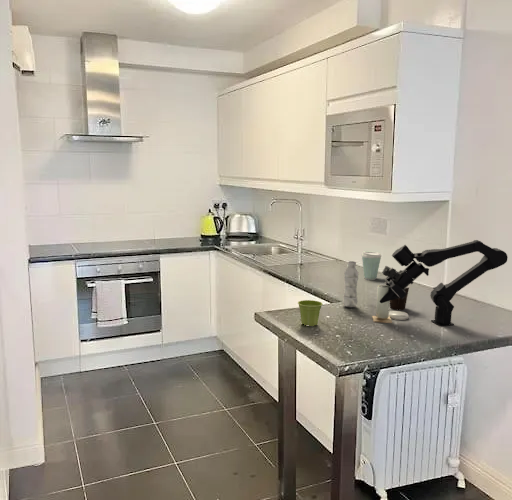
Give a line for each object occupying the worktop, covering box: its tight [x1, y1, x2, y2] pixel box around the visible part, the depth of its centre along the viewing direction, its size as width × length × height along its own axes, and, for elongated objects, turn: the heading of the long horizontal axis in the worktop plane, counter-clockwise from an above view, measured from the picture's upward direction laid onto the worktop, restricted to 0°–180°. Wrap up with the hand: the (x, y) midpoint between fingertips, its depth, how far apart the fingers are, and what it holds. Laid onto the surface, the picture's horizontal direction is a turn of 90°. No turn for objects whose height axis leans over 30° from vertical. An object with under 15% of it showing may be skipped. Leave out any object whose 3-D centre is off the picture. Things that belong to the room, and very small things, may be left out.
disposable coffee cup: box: [361, 250, 382, 281], centre depth 285 cm, size 11×11×15 cm
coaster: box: [371, 315, 393, 324], centre depth 208 cm, size 7×7×1 cm
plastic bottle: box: [342, 261, 360, 308], centre depth 225 cm, size 6×7×20 cm
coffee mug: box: [389, 285, 410, 311], centre depth 224 cm, size 12×9×10 cm
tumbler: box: [375, 284, 390, 318], centre depth 207 cm, size 5×5×12 cm
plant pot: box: [297, 299, 323, 327], centre depth 199 cm, size 9×9×9 cm
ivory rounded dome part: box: [389, 310, 409, 321], centre depth 212 cm, size 8×8×2 cm
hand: (379, 300), depth 207 cm, fingers closed on tumbler, 5 cm apart
